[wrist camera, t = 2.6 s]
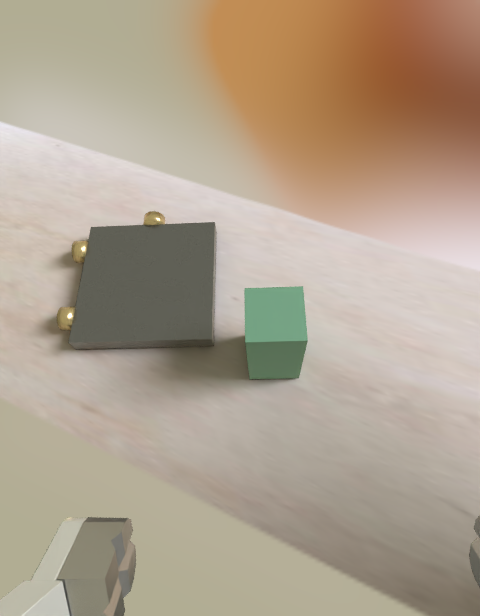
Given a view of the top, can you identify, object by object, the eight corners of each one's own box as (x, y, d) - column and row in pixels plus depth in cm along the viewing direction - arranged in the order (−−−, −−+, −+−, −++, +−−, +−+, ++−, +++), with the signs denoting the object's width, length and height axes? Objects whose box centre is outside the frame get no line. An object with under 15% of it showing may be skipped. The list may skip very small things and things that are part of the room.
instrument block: (295, 326, 36) (302, 278, 29) (298, 378, 34) (307, 340, 26) (248, 327, 36) (244, 280, 29) (249, 379, 34) (245, 342, 27)
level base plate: (216, 222, 41) (214, 208, 39) (213, 345, 35) (211, 336, 33) (86, 227, 42) (78, 214, 40) (62, 349, 36) (51, 340, 34)
